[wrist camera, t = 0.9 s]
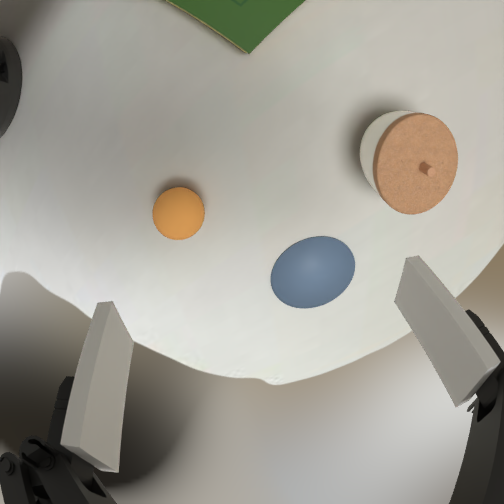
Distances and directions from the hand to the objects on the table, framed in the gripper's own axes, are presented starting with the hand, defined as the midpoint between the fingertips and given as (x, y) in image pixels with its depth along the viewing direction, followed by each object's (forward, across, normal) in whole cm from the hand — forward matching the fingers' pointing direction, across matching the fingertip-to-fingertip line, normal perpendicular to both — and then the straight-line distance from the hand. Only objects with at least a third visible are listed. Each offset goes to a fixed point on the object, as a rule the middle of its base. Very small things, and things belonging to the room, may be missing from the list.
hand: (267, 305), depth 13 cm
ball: (+19, -6, -4) cm, 21 cm away
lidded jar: (+22, +18, 0) cm, 29 cm away
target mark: (+22, +9, -17) cm, 29 cm away
